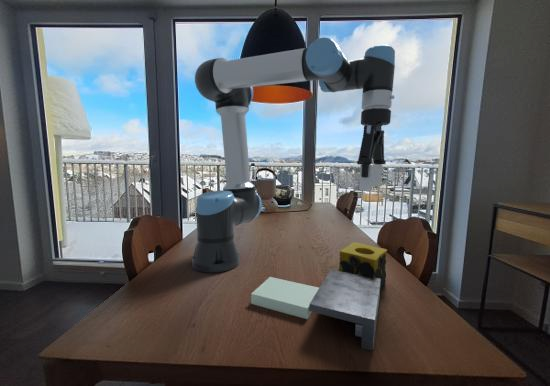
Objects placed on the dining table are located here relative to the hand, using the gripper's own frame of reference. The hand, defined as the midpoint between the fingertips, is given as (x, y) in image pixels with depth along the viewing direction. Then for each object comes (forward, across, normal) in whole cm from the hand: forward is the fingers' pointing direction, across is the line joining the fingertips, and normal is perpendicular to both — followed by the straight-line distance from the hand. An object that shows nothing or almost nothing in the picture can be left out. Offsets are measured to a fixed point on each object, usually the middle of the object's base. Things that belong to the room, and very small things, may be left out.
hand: (370, 188), depth 73 cm
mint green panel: (+27, -24, +13) cm, 38 cm away
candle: (+27, -5, 0) cm, 27 cm away
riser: (+26, -22, -2) cm, 34 cm away
